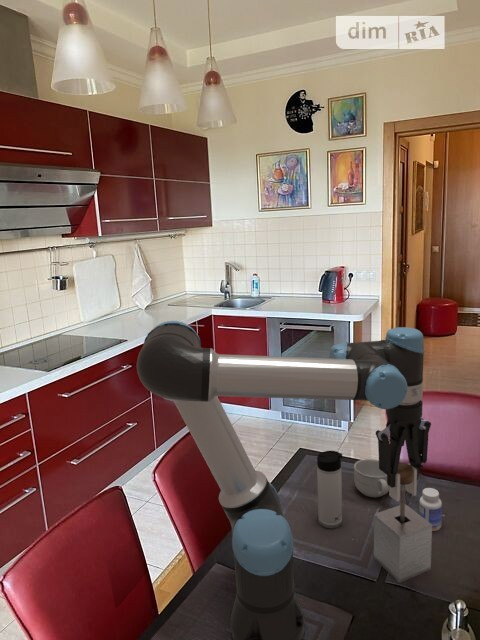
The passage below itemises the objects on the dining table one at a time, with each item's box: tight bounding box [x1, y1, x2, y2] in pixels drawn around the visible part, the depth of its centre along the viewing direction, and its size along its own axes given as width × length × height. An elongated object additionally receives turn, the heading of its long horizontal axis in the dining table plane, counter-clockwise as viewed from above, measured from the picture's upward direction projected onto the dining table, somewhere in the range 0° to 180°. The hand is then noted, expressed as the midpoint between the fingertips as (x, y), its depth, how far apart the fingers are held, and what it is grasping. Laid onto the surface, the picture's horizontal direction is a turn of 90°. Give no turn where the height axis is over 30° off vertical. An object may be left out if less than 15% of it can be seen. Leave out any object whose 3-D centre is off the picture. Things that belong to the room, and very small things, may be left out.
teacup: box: [353, 458, 389, 498], centre depth 143 cm, size 14×11×8 cm
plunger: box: [397, 462, 413, 524], centre depth 112 cm, size 7×7×18 cm
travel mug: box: [316, 450, 343, 529], centre depth 130 cm, size 6×7×20 cm
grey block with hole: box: [373, 503, 433, 584], centre depth 116 cm, size 9×11×12 cm
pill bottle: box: [418, 487, 443, 532], centre depth 128 cm, size 5×5×10 cm
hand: (402, 495), depth 112 cm, fingers closed on plunger, 4 cm apart
